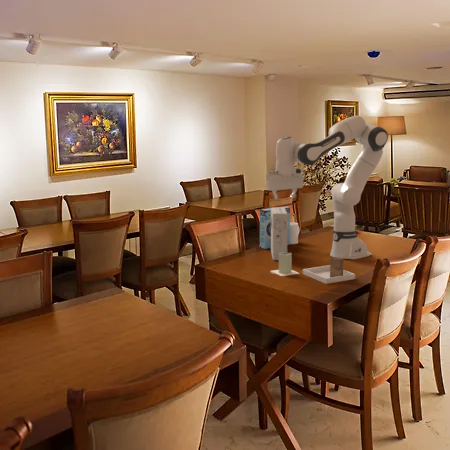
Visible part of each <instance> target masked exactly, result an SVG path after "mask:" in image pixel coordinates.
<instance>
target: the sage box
mask: <svg viewBox="0 0 450 450" xmlns="http://www.w3.org/2000/svg"><path fill="white" fill-rule="evenodd" d="M292 258H293V256H292V252H288V251H287V252H282V253H280V254H279V260H278V270H279V273H286V274H288V273H290V272H291V270H292V266H293V265H292V261H293V259H292Z"/></svg>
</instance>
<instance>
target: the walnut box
mask: <svg viewBox="0 0 450 450" xmlns="http://www.w3.org/2000/svg"><path fill="white" fill-rule="evenodd" d="M344 260H345V259H344V258H340V257H332V258H330V263H329V265H330V278H331V277H337V276H343V270H344Z"/></svg>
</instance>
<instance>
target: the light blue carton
mask: <svg viewBox="0 0 450 450" xmlns="http://www.w3.org/2000/svg"><path fill="white" fill-rule="evenodd" d="M283 207H284V208H285V210H286V212H287V214H288V224H287V246H290V245H291V244H290V222H291V206H283ZM271 208H272V207H269V208H260V209H259V248H260V247H261V248H260V249H262V248H263V250H268V249H271ZM275 208H277V206H276V207H275Z"/></svg>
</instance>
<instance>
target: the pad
mask: <svg viewBox="0 0 450 450" xmlns="http://www.w3.org/2000/svg"><path fill="white" fill-rule="evenodd" d="M269 272H270V274H272V275H274V274H275V275H277V276H280V277H286V276H295V275H300V272H297V271H296V270H293V269H291V272H290V273H288V274H286V273H279V269H274V270H273V269H272V270H270V271H269Z"/></svg>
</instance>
